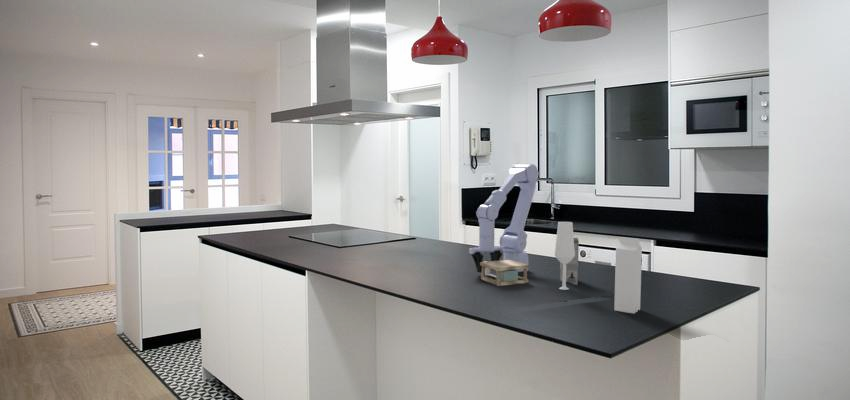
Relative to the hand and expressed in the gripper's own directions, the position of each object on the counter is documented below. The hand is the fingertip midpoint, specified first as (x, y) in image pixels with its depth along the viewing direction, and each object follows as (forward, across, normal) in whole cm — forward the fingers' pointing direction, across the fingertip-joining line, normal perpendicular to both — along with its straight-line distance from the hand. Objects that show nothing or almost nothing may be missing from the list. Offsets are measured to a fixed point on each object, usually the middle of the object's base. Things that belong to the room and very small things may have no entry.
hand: (486, 271), depth 218 cm
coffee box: (+3, +24, -19) cm, 31 cm away
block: (+1, 0, -7) cm, 8 cm away
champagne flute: (+3, +12, -31) cm, 33 cm away
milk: (+3, +14, -58) cm, 60 cm away
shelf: (+3, 0, -8) cm, 8 cm away
